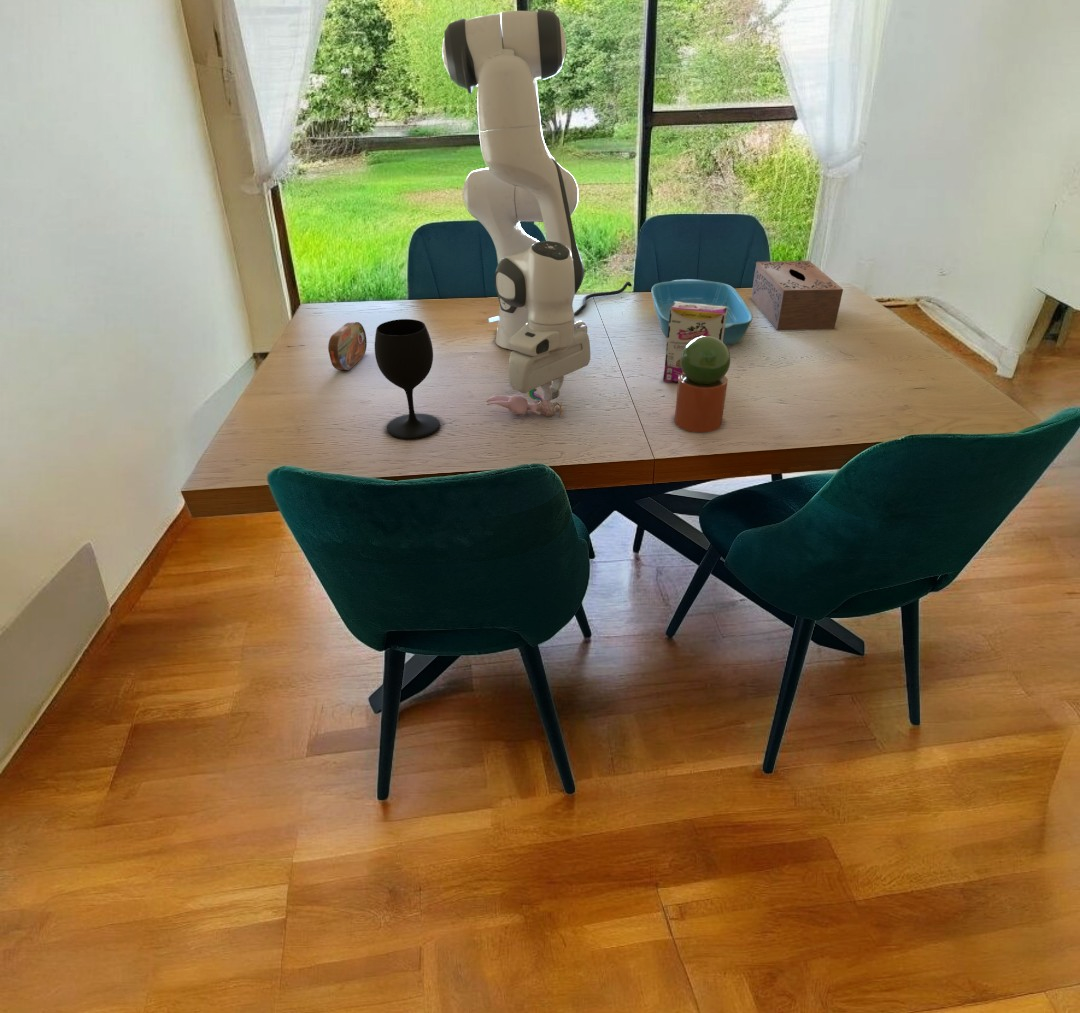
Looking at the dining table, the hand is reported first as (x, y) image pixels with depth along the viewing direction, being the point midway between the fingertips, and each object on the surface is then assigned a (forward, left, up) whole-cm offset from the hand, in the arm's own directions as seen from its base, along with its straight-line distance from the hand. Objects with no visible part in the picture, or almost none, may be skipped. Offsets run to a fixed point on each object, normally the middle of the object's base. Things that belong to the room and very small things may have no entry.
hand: (551, 398), depth 145 cm
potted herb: (-14, +26, -2) cm, 29 cm away
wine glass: (+25, -13, -2) cm, 28 cm away
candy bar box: (-29, +14, -2) cm, 32 cm away
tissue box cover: (-84, +8, -2) cm, 84 cm away
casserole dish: (-58, -4, -2) cm, 58 cm away
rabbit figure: (+7, -1, -2) cm, 7 cm away
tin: (+15, -50, -2) cm, 52 cm away
